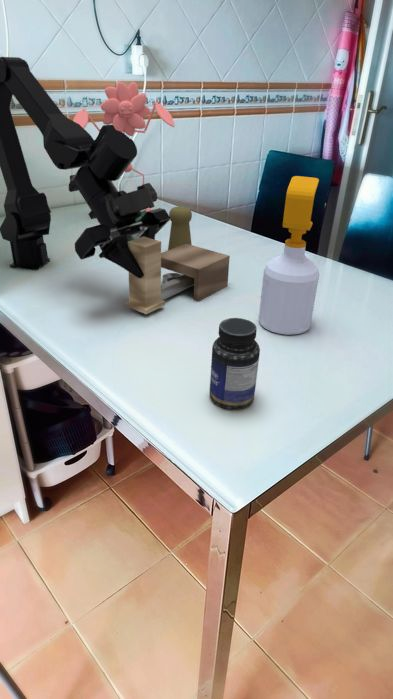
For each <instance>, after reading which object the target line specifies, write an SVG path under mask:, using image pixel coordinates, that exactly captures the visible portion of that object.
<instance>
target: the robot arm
mask: <svg viewBox="0 0 393 699" xmlns="http://www.w3.org/2000/svg"><path fill="white" fill-rule="evenodd" d="M13 97H14V98H15V99H16V101H17V102H18V104H19V105H20V107H22V109H23V110H24V112H25V113H26V114H27V116H28V117H29V118H30V119H31V121H32V122H33V123H34V125H35V126H36V127H37V129H38V130H39V132H40V133H41V135H42V138H43V139H42V140H43V148H44V150H45V152H46V154H47V155H48V157H49V158H50V160H51V162H52V164H53V165H54V166H55V167H56V168H57V169H59V170H62V171H63V170H71V169H77V168H78V169H77V171H76V172H75V174H70V176H69V182H68V191H69V192H70V193H73V192H79V194H80V195H81V196H82V199H84V201H85V203H86V204H87V206H88V207H89V209H90V212H89V213H88V216H89V217H88V218H90V220H94V219H96V220H97V222H98V224H96V225H94V226H90V227H87V228H85V229H84V230H83V232H82V233H80V236H79V237H78V238H77V239H76V241H75V242H74V251H75V253H76V254H77V256H78V258H79V259H80V260H85V259H88V258H91V257H94V256H95V254H96V248H95V247H98V246H99V248H100V251H101V252H100V253H99V254H98V257H99V258H100V259H103V258H104V259H106V260H108V261H110V262H111V263H113V264H116V265H117V266H119V267H120V268H122V269H124V270H125V271H127V272H128V273H129V272H130V273H131V274H133V275H135V276H136V277H138V278H142V277H143V276H144V274H143V272H142V270H141V268H140V266H139V264H138V263H137V261H136V259H135V257H134V256H133V254H132V252H131V251H130V249H129V247H128V241H127V236H130V235H132V236H133V238H134V239H137V238H140V237H143V236H144V237H147V238H151V239H154V240H156V235H157V234H158V233H159V232H160V230H161V229H163V228H164V226H166V225H167V224H168V223H169V221H171V220H170V219H171V218H170V216H169V213H168V211H167V210H166V209H165V208H160V207H159V208H156V209H152V208H154V207H155V203H154V202H157V200H158V194H157V192H156V189H155V188H154V187H153V185H152V184H151V183H150V182H146V183H144V184H143V183H142V184H141V185H138V186H136V190H132V191H130V192H127V191H124V190H118V189H117V187H116V186H115V184H114V182H115V181H118V180H119V179H120V178H121V176H122V175H123V174H124V173H125V172H124V171H125V170H126V169H127V168H128V166H129V165H130V164H131V165H132V162H133V161H134V159H135V158H136V157H137V155H138V148H137V145H136V143H135V141H134V140H133V139H132V138H130V136H129V135H127V134H126V133H125V134H124V133H123V132H120V131H118V130H116V129H115V128H114V126H113V125H112V124H109V125H105V124H103V125H102V126H101V128H99V129H100V131H98V135H97V136H96V138H95V139H94V138H93V136H92V135H91V134H90V133H89V132H88V131H87V130H86V128H83V127H82V126H80V125H79V124H78V123H76V122H74V121H73V120H72V119H70V118H68V117H66V115H65V114H63V112H62V110H60V108H59V107H58V105H57V104H56V103H55V102H54V100H53V99H52V98H51V96H50V95H49V94H48V93H47V91H46V90H45V88H44V87H43V86H42V84H41V83H40V82H39V81H38V79H37V78H36V76H35V74H33V72H32V71H31V70H30V67H29V64H28V62H27V61H26V60H25V59H23V58H22V57H19V56H18V57H17V56H16V57H15V56H14V57H13V56H0V171H1V173H2V178H3V181H4V184H5V186H6V195H5V199H4V203H3V208H4V213H5V217H4V220H3V221H2V223H1V225H0V236H1V238H2V239H3V240H5V241H8V242H9V244H10V250H11V257H12V261H13V262H11V263H10V264H9V267H10V268H12V269H23V270H32V271H38V270H40V269H41V268H42V267H44V266H45V265H46V264H48V263H49V262H51V258H49V256H48V249H47V243H46V242H44V236H48V235H50V228H51V221H52V219H51V218H52V217H51V216H52V215H51V213H52V210H51V209H50V207H49V203H48V198H47V195H46V194H45V192H39V191H38V190H37V189H36V188H35V187H34V186H33V183H32V180H31V177H30V173H29V169H28V166H27V162H26V159H25V155H24V153H23V149H22V146H21V142H20V139H19V135H18V133H17V128H16V125H15V121H14V118H13V115H12V114H13V113H12V111H11V104H12V99H13ZM147 208H151V211H147V213H146V214H145V215H144V216H143V217H142V218H141V219H140V220H139V221H138V222H136V218H139V217H140V215H141V214H142V213H141V210H144V209H147ZM129 229H130V230H129Z"/></svg>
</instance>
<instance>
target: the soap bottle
mask: <svg viewBox="0 0 393 699" xmlns="http://www.w3.org/2000/svg"><path fill="white" fill-rule="evenodd" d="M319 182H320V179H319V178H318V177H310V176H303V175H302V176H301V175H294V176H292V177H291V179H290V182H289V185H288V187H287V190H286V195H285V201H284V202H285V203H284V209H283V210H284V211H283V217H282V218H283V219H282V220H283V221H282V228H286V229H288V232H289V233H290V234H291V235H290V238H287V239H286V240H285V241H284V242H285V244H284V249H283V250H284V251H283V253H282V254H280V255H277V256H275V257H273V258H271V259H270V260H268V261H267V263H266V265H265V267H264V269H263V276H262V285H261V296H260V301H259V302H260V303H259V312H258V322H259V324H260V326H261V327H262V328H264V329H266V330H268V331H270V332H272V333H276V334H278V335H287V336H290V335H299V334H303V333H306V332H307V331H308V330H309V329H310V328H311V324H312V318H313V314H314V313H313V312H314V308H315V307H314V306H315V302H316V296H317V289H318V284H319V280H320V272H319V268H318V267H317V265H316V264H315V263H314V261H312V260H311V259H310V258H308V257H307V256H306V255H305V253H306V246H307V242H306V241H305V240H304V239H302V236H303V235H304V234H307V231H311V228H312V226H313V221H312V220H311V219H312V214H313V207H314V200H315V197H316V196H315V195H316V192H317V188H318V186H319Z"/></svg>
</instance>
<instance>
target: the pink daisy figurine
mask: <svg viewBox="0 0 393 699" xmlns="http://www.w3.org/2000/svg"><path fill="white" fill-rule="evenodd" d="M104 93H105V95H106V97H107V99H105V100H104V101H103V102H102V103H101V105H100V109H101V111H103V112H104V114H103V115H102V123H103V125H113V126H114V128H115V129H116V130H118V131H120V132H122V133H124V134H125V135H126V136H128V137H133V136H135V133H142V134H146V132H147V129H148V126H149V125H150V122H151V119H152V116H153V115H154V112H155V111H156V113H157V115H158V117H159V118H160V120H162V121H163V122H164V123H165V124H167V125H169V127H172V128H175V127H176V126H175V122H174V118H173V116H172V115H171V113H170V112H169V110H167V108H166V107H165V106H163V105H162V104H160V103H158V102H156V101H155V102H154V103H153V107H152V110H151V109H150V107H149V106H147V105H146V102H147V94H146V93H139V87H138V84H137V82H135V81H131V82H130V83H129V85H127V84H126V83H124V82H123V81H118V82H117V83H116V87H115V86H107V87H106V88H105V89H104ZM148 115H149V117H148V119H147V121H146V120H144V118H146V117H147V116H148ZM72 121H74V122H76V123H78V124H79V125H80V126H82V127H83V128H84V129H86V127H87V125H88V123H89V121H90V122H91V123H92V124H93V126H94V127H95V128H96V129H97V131H98V132H99V131H100V129H101V128H100V127H99V126H98V125H97V123H96V122H95V121H94V120H93V119H92V117H91V116H90V114H89V113H88V111H87V110H86V108H84V107H82V109H81V110H79V111H78V112H77V113H76V115H74V117H73V120H72ZM142 129H144V130H142ZM132 171H134V172H135V173H137V174H139V175H140V176H142V185H143V184H145V175H144V174H143V173H141V172H139V171H138V170H137V169H135V168H133V166H132V163H131V164H130V165H129V166H128V168H127V169H126V170H125V171H124V173H130V172H132ZM151 210H152V208H147V209H146V213H147V211H151ZM89 218H90V217H88V220H89Z"/></svg>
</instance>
